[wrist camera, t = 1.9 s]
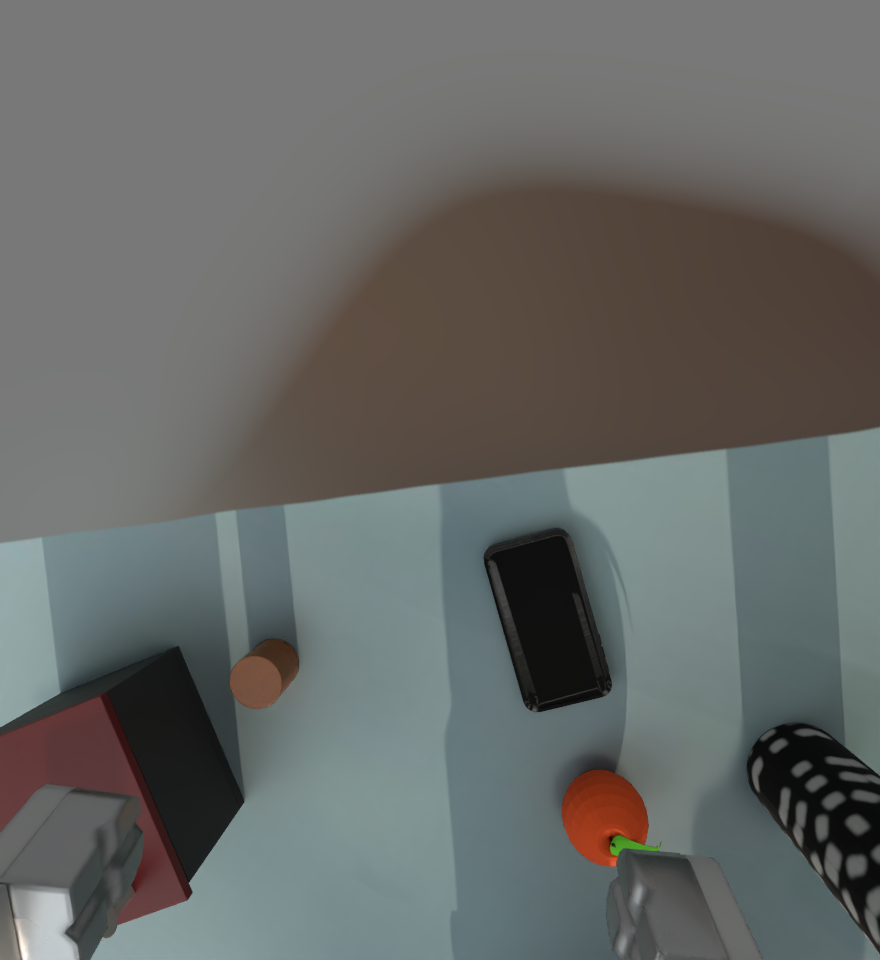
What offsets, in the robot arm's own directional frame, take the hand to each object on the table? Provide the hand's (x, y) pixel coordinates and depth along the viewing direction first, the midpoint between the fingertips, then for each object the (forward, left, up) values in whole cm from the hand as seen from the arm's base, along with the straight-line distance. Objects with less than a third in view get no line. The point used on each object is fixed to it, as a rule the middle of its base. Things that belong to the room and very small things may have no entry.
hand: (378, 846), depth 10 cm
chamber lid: (-25, +27, -31) cm, 48 cm away
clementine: (-22, -15, -41) cm, 49 cm away
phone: (-7, -8, -41) cm, 42 cm away
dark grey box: (-25, +27, -41) cm, 55 cm away
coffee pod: (-15, +16, -41) cm, 46 cm away
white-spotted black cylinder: (-17, -31, -41) cm, 54 cm away
